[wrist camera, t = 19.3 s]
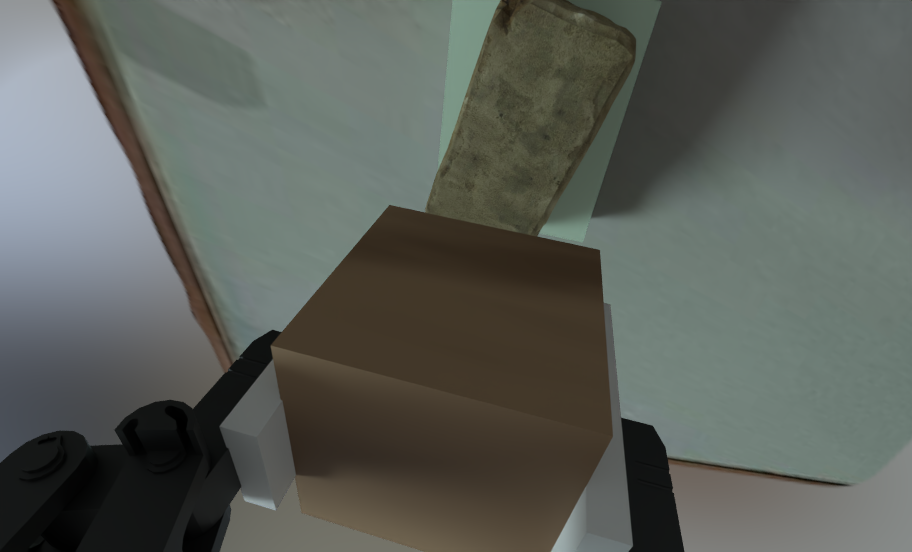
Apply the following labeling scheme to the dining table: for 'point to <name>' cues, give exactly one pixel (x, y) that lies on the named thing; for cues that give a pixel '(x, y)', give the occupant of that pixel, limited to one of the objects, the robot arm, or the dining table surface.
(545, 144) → the stone block
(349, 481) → the walnut cube
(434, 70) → the dining table surface
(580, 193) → the base slab
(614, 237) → the dining table surface
